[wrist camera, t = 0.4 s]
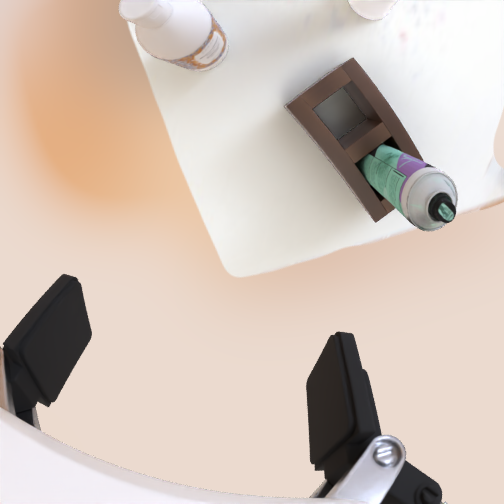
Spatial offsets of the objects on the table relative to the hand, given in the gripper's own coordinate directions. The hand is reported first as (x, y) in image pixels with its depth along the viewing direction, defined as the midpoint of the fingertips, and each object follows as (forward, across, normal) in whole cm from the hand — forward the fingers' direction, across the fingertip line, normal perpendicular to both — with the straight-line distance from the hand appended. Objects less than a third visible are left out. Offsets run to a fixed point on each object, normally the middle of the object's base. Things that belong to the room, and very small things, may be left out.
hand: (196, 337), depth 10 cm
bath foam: (+31, +9, -14) cm, 36 cm away
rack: (+31, -12, -6) cm, 34 cm away
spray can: (+31, -16, -4) cm, 35 cm away
